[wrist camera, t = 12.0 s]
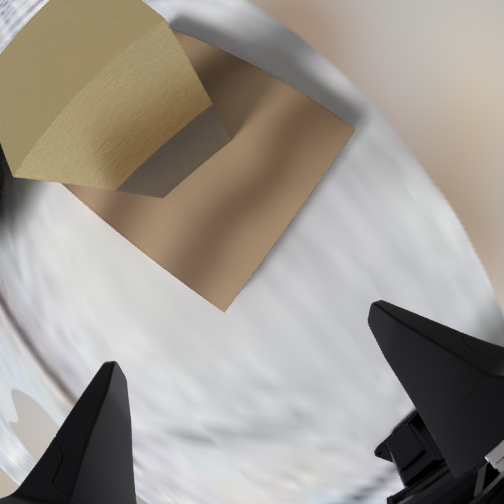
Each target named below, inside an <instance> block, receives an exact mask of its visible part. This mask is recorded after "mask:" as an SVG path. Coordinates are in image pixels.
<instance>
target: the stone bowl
mask: <svg viewBox="0 0 504 504" xmlns="http://www.w3.org/2000/svg"><path fill="white" fill-rule="evenodd" d="M1 162H2V157H1V146H0V195H1V191H2V188H3V183H4V177H3V172H2V167H1Z"/></svg>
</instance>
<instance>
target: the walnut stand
mask: <svg viewBox="0 0 504 504" xmlns="http://www.w3.org/2000/svg"><path fill="white" fill-rule="evenodd" d="M171 30H172V29H171ZM172 32H173V33H174V35H175V37H176V39H177V40H178V42H179V44H180V46H181V47H182V49H183V51H184V53H185V54H186V56H187V58H188V60H189V62H190V63H191V65H192V67H193V69H194V71H195V72H196V74H197V76H198V78H199V80H200V82H201V83H202V85H203V87H204V89H205V91H206V93H207V94H208V96H209V98H210V100H211V102H212V104H213V106H214V107H215V109H216V111H217V113H218V115H219V117H220V119H221V121H222V123H223V124H224V126H225V128H226V130H227V132H228V134H229V136H230V138H231V140H232V141H231V142H229V143H228V144H227V145H226V146H224V147H223V148H222V149H221V150H219V151H218V152H217V153H216V154H214V155H213V156H212V157H211V158H209V159H208V160H207V161H206V162H205V163H203V164H202V165H201V166H200V167H199V168H197V169H196V170H195V171H194V172H193V173H191V174H190V175H189V176H188V177H187V178H186V179H185V180H183V181H182V182H181V183H180V184H179V185H178V186H177V187H175V188H174V189H173V190H172V191H171V192H170V193H169V194H168V195H166V196H165V197H164V198H158V197H152V196H146V195H140V194H134V193H127V192H121V191H115V190H108V189H101V188H95V187H88V186H81V185H74V184H66V183H62V184H63V185H64V186H65V187H66V188H67V189H68V190H69V191H70V192H72V193H73V194H74V195H75V196H76V197H77V198H78V199H79V200H81V201H82V202H83V203H84V204H85V205H86V206H88V207H89V208H90V209H91V210H92V211H93V212H95V213H96V214H97V215H98V216H99V217H100V218H102V219H103V220H104V221H105V222H106V223H108V224H109V225H110V226H111V227H112V228H114V229H115V230H116V231H117V232H118V233H120V234H121V235H122V236H123V237H125V238H126V239H127V240H128V241H130V242H131V243H132V244H133V245H135V246H136V247H137V248H138V249H140V250H141V251H142V252H143V253H145V254H146V255H147V256H149V257H150V258H151V259H152V260H154V261H155V262H156V263H158V264H159V265H160V266H161V267H163V268H164V269H165V270H167V271H168V272H169V273H171V274H172V275H173V276H175V277H176V278H177V279H179V280H180V281H181V282H183V283H184V284H185V285H187V286H188V287H189V288H191V289H192V290H194V291H195V292H196V293H198V294H199V295H200V296H202V297H203V298H205V299H206V300H207V301H209V302H210V303H212V304H213V305H214V306H216V307H217V308H219V309H220V310H221V311H223V312H224V313H225V311H226V310H227V309H228V307H229V306H230V304H231V303H232V302H233V300H234V299H235V298H236V296H237V295H238V294H239V292H240V291H241V289H242V288H243V287H244V285H245V284H246V283H247V281H248V280H249V278H250V277H251V276H252V274H253V273H254V272H255V270H256V269H257V267H258V266H259V265H260V263H261V262H262V261H263V259H264V258H265V256H266V255H267V254H268V252H269V251H270V249H271V248H272V247H273V245H274V244H275V243H276V241H277V240H278V238H279V237H280V236H281V234H282V233H283V231H284V230H285V229H286V227H287V226H288V224H289V223H290V222H291V220H292V219H293V217H294V216H295V215H296V213H297V212H298V210H299V209H300V208H301V206H302V205H303V203H304V202H305V201H306V199H307V198H308V196H309V195H310V194H311V192H312V191H313V189H314V188H315V186H316V185H317V184H318V182H319V181H320V179H321V178H322V177H323V175H324V174H325V172H326V171H327V169H328V168H329V167H330V165H331V164H332V162H333V161H334V159H335V158H336V157H337V155H338V154H339V152H340V151H341V149H342V148H343V147H344V145H345V144H346V142H347V141H348V139H349V138H350V137H351V135H352V134H353V132H354V131H355V129H354V128H352V127H351V126H350V125H348V124H347V123H345V122H344V121H343V120H341V119H340V118H338V117H337V116H336V115H334V114H333V113H331V112H330V111H328V110H327V109H325V108H324V107H322V106H321V105H319V104H318V103H316V102H315V101H313V100H312V99H310V98H309V97H307V96H305V95H304V94H302V93H301V92H299V91H297V90H296V89H294V88H293V87H291V86H289V85H287V84H286V83H284V82H282V81H281V80H279V79H277V78H275V77H274V76H272V75H270V74H268V73H266V72H265V71H263V70H261V69H259V68H257V67H255V66H253V65H251V64H249V63H248V62H246V61H244V60H242V59H240V58H238V57H235V56H233V55H231V54H229V53H227V52H225V51H223V50H221V49H218V48H216V47H214V46H212V45H210V44H207V43H205V42H203V41H200V40H198V39H195V38H193V37H190V36H188V35H185V34H183V33H180V32H177V31H175V30H172Z"/></svg>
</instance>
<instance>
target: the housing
mask: <svg viewBox="0 0 504 504" xmlns="http://www.w3.org/2000/svg"><path fill="white" fill-rule="evenodd" d="M231 141H232V140H231V138H230V136H229V134H228V132H227V130H226V128H225V126H224V124H223V123H222V121H221V119H220V117H219V115H218V113H217V111H216V109H215V107H214V106H213V104H212V102H211V100H210V98H209V96H208V94H207V93H206V91H205V89H204V87H203V85H202V83H201V82H200V80H199V78H198V76H197V74H196V72H195V71H194V69H193V67H192V65H191V63H190V62H189V60H188V58H187V56H186V54H185V53H184V51H183V49H182V47H181V46H180V44H179V42H178V40H177V39H176V37H175V35H174V33H173V32H172V30H171V28H170V26H169V25H168V23H167V21H166V20H165V18H163V17H162V16H161V15H160V14H158V13H157V12H156V11H155V10H153V9H152V8H151V7H150V6H148V5H147V4H146V3H144V2H143V1H142V0H49V1H48V2H47V3H46V4H45V5H44V6H43V7H42V8H41V9H40V10H39V11H38V12H37V13H36V14H35V15H34V16H33V17H32V18H31V19H30V20H29V22H28V23H27V24H26V25H25V26H24V27H23V28H22V29H21V30H20V31H19V33H18V34H17V35H16V36H15V37H14V38H13V40H12V41H11V42H10V43H9V44H8V46H7V47H6V48H5V49H4V51H3V52H2V53H1V55H0V143H1V146H2V149H3V152H4V154H5V157H6V160H7V162H8V165H9V168H10V170H11V173H12V175H13V177H18V178H27V179H35V180H43V181H51V182H59V183H66V184H74V185H81V186H88V187H95V188H101V189H108V190H115V191H121V192H127V193H134V194H140V195H146V196H152V197H158V198H164V197H165V196H166V195H168V194H169V193H170V192H171V191H172V190H173V189H174V188H175V187H177V186H178V185H179V184H180V183H181V182H182V181H183V180H185V179H186V178H187V177H188V176H189V175H190V174H191V173H193V172H194V171H195V170H196V169H197V168H199V167H200V166H201V165H202V164H203V163H205V162H206V161H207V160H208V159H209V158H211V157H212V156H213V155H214V154H216V153H217V152H218V151H219V150H221V149H222V148H223V147H224V146H226V145H227V144H228V143H229V142H231Z"/></svg>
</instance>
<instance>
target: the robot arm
mask: <svg viewBox="0 0 504 504" xmlns="http://www.w3.org/2000/svg"><path fill="white" fill-rule="evenodd" d="M368 324H369V327H370V329H371V331H372V333H373V335H374V337H375V339H376V341H377V343H378V345H379V347H380V349H381V351H382V353H383V355H384V357H385V358H386V360H387V362H388V363H389V365H390V366H391V368H392V370H393V371H394V373H395V374H396V376H397V378H398V379H399V381H400V382H401V384H402V386H403V387H404V389H405V391H406V392H407V394H408V395H409V397H410V399H411V400H412V402H413V404H414V405H415V407H416V409H417V411H416V412H415V413H414V414H413V415H412V416H411V417H410V418H409V419H408V420H407V421H406V422H405V423H404V424H403V425H402V426H401V427H400V428H399V429H398V430H397V431H396V432H395V433H394V434H392V435H391V436H390V437H389V438H388V439H387V440H386V441H385V442H384V443H383V444H381V445H380V446H379V447H378V448H377V449H376V450H375V451H374V453H375V456H377V457H379V458H382V459H385V460H388V461H390V462H393V463H394V464H395V467H396V469H397V471H398V473H399V476H400V478H401V480H402V483H403V485H404V487H405V488H404V489H403V490H401V491H400V492H398V493H396V494H395V495H391V496H390V497H388V498H387V504H504V347H502V346H498V345H495V344H492V343H489V342H486V341H483V340H480V339H477V338H475V337H472V336H469V335H467V334H464V333H462V332H459V331H457V330H455V329H452V328H450V327H447V326H445V325H442V324H440V323H437V322H435V321H433V320H430V319H428V318H425V317H423V316H420V315H418V314H415V313H413V312H410V311H408V310H405V309H403V308H401V307H398V306H396V305H393V304H391V303H388V302H386V301H383V300H379V301H376V302H373V303H372V304H371V307H370V312H369V316H368ZM485 456H486V458H487V459H488V460H489V462H488V461H487V460H486V459H485ZM0 504H137V503H136V494H135V484H134V472H133V456H132V429H131V415H130V407H129V398H128V389H127V380H126V377H125V375H124V373H123V372H122V370H121V368H120V366H119V365H118V363H117V362H116V361H109V362H105V363H104V364H103V365H102V366H101V368H100V369H99V371H98V372H97V374H96V375H95V376H94V378H93V379H92V381H91V382H90V384H89V385H88V387H87V388H86V390H85V391H84V392H83V394H82V395H81V397H80V398H79V400H78V401H77V403H76V404H75V406H74V407H73V409H72V411H71V412H70V414H69V415H68V417H67V418H66V420H65V421H64V423H63V424H62V426H61V428H60V429H59V431H58V433H57V434H56V437H54V439H53V440H52V442H51V443H50V445H49V447H48V448H47V450H46V451H45V453H44V454H43V456H42V457H41V458H40V460H39V461H38V463H37V464H36V465H35V467H34V468H33V469H32V471H31V472H30V473H29V475H28V476H27V477H26V479H25V480H24V481H23V483H22V484H21V485H20V487H19V488H18V489H17V490H16V491H15V492H14V493H12V494H11V495H9V496H6V497H3V498H1V499H0Z"/></svg>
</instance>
